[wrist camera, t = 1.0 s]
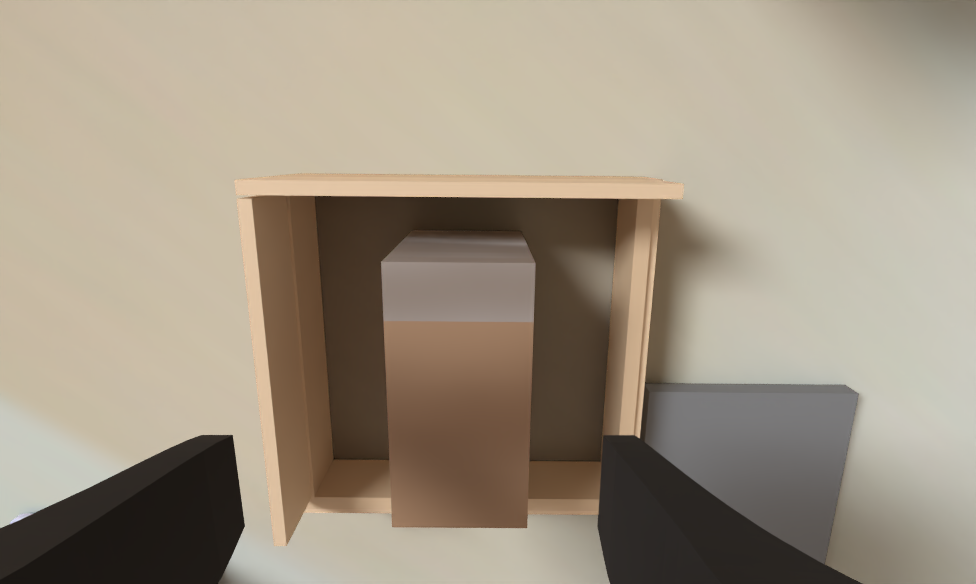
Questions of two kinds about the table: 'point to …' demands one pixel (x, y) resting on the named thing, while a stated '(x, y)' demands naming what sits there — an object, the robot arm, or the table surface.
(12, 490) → the table surface
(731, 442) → the slate mat
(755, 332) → the table surface
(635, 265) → the wooden drawer
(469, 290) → the walnut box
